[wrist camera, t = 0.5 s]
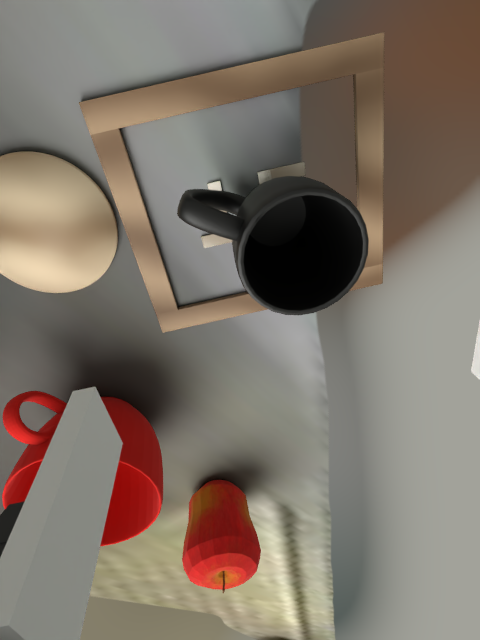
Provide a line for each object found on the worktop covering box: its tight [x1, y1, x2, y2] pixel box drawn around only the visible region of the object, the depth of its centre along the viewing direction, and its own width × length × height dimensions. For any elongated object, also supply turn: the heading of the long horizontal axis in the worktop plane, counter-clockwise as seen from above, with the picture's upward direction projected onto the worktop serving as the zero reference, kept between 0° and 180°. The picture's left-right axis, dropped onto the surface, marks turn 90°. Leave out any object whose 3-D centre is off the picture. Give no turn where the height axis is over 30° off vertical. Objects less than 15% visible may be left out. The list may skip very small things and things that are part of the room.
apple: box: [182, 480, 261, 593], centre depth 44 cm, size 9×8×12 cm
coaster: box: [0, 151, 118, 293], centre depth 29 cm, size 11×11×1 cm
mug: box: [177, 176, 369, 315], centre depth 26 cm, size 8×12×10 cm
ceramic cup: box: [2, 391, 163, 546], centre depth 35 cm, size 13×17×10 cm
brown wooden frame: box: [79, 32, 384, 333], centre depth 30 cm, size 19×21×1 cm
